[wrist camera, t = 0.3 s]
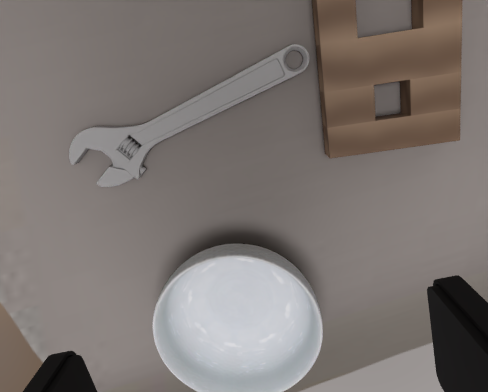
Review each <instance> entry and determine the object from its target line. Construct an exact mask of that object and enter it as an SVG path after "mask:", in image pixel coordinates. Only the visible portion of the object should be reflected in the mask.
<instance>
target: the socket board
mask: <svg viewBox="0 0 488 392" xmlns="http://www.w3.org/2000/svg"><path fill="white" fill-rule="evenodd" d="M411 3H412V30H406V31H400V32H393V33H387V34H381V35H374V36H368V37H362V38H358V37H357V20H356V2H355V0H312V8H313V19H314V31H315V42H316V54H317V65H318V77H319V88H320V100H321V111H322V123H323V134H324V146H325V154H326V155H327V156H328V157H329V158H336V157H344V156H351V155H358V154H365V153H372V152H379V151H386V150H394V149H401V148H408V147H415V146H422V145H429V144H436V143H444V142H451V141H458V140H460V103H461V45H462V0H411ZM397 81H400V98H401V113H398V114H391V115H384V116H377V117H375V98H374V85H377V84H383V83H390V82H397Z"/></svg>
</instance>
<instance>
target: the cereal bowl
mask: <svg viewBox="0 0 488 392" xmlns="http://www.w3.org/2000/svg"><path fill="white" fill-rule="evenodd" d="M153 336H154V341H155V344H156V347H157V350H158V352H159V354H160V357H161V358H162V360H163V362H164V363H165V365H166V366H167V367H168V368H169V370H170V371H171V372H172V373H173V374H174V375H175V376H176V377H177V378H178V379H179V380H181V381H182V382H183V383H184V384H186V385H187V386H189V387H190V388H192V389H194V390H196V391H198V392H283V391H285V390H287V389H289V388H290V387H292V386H293V385H295V384H296V383H297V382H298V381H300V380H301V379H302V378H303V377H304V376H305V375H306V374H307V373H308V371H309V370H310V369H311V367H312V366H313V364H314V362H315V361H316V359H317V357H318V354H319V352H320V349H321V344H322V339H323V324H322V317H321V312H320V309H319V304H318V301H317V298H316V296H315V293H314V291H313V290H312V287H311V286H310V284H309V283H308V281H307V279H306V278H305V277H304V276H303V274H302V273H301V272H300V271H299V269H297V267H295V266H294V265H293V264H292V263H291V262H289V261H288V260H287V259H285V258H284V257H282V256H281V255H279V254H277V253H276V252H273V251H271V250H268V249H267V248H262V247H259V246H255V245H249V244H237V243H236V244H225V245H220V246H215V247H212V248H209V249H206V250H204V251H201V252H199V253H197V254H196V255H194V256H192V257H191V258H189V259H188V260H186V261H185V262H184V263H183V264H182V265H180V266H179V267H178V269H177V270H176V271H175V272H174V273H173V274H172V275H171V276H170V278H169V280H168V281H167V282H166V284H165V286H164V288H163V289H162V292H161V293H160V295H159V298H158V300H157V302H156V306H155V309H154V315H153Z"/></svg>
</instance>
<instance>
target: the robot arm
mask: <svg viewBox="0 0 488 392" xmlns="http://www.w3.org/2000/svg"><path fill="white" fill-rule="evenodd" d="M427 294H428V303H429V312H430V321H431V330H432V339H433V347H434V356H435V364H436V373H437V377H438V380H439V382H440V385H441V387H442V389H443V390H444V392H488V303H487V302H486V301H485V300H484V299H483V298H482V297H481V296H480V295H479V294H478V293H477V292H476V291H475V290H474V289H473V288H472V287H471V286H470V285H469V284H468V283H467V282H466V281H465V280H463V279H462V278H461V277H460V276H457V275H456V276H451V277H446V278H441V279H436V280H434V283H433V286H431V287H428V289H427ZM23 392H97V390H96V388H95V386H94V383H93V381H92V379H91V376H90V374H89V372H88V369H87V367H86V365H85V363H84V360H83V358H82V357H81V356H80V355H76V353H75V352H73V351H67V352H62V353H57V354H52V355H50V356H49V357H48V358H47V359H46V360H45V362H44V363H43V364H42V366H41V367H40V368H39V370H38V372H37V373H36V374H35V376H34V377H33V378H32V380H31V381H30V382H29V384H28V385H27V387H26V388H25V389H24V391H23Z"/></svg>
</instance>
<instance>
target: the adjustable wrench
mask: <svg viewBox="0 0 488 392" xmlns="http://www.w3.org/2000/svg"><path fill="white" fill-rule="evenodd" d="M293 50H296V51H299V52H300V53H301V54H302V56H303V63H302V65H301V66H300V67H299V68H297V69H291V68H289V67H288V66H287V64H286V61H285V59H286V55H287V54H288V53H289V52H290V51H293ZM308 63H309V54H308V52H307V50H306V49H305V48H304V47H303V46H301V45H298V44H293V45H290V46H288V47H286V48H284V49H282V50H281V51H279V52H277V53H275V54H273V55H271V56H269V57H268V58H266V59H264V60H262V61H260V62H258V63H257V64H255V65H253V66H251V67H249V68H247V69H245V70H244V71H242V72H240V73H238V74H236V75H234V76H233V77H231V78H229V79H227V80H225V81H223V82H221V83H220V84H218V85H216V86H214V87H212V88H210V89H209V90H207V91H205V92H203V93H201V94H199V95H197V96H196V97H194V98H192V99H190V100H188V101H186V102H185V103H183V104H181V105H179V106H177V107H175V108H173V109H172V110H170V111H168V112H166V113H164V114H162V115H161V116H159V117H157V118H155V119H153V120H151V121H149V122H147V123H144V124H140V125H133V126H117V127H116V126H95V127H92V128H89V129H86V130H83V131H81V132H80V133H79V134H78V135H77V136H76V137H75V138H74V139H73V141H72V143H71V146H70V150H69V160H70V162H71V164H72V165H75V164H77V163H79V161H80V160H81V159H82V157H83V156H84V155H85V153H86V152H87V151H88V149H93V150H99V151H102V152H103V153H105V154H106V155H107V156H108V157H109V158H111V160H112V163H113V165H111V166H110V167H109V168H108V169H107V170H106V171H105V173H104V174H103V175H102V176H101V178H100V179H99V180H98V182H97V183H96V184H97V185H99V186H100V187H112V186H117V185H121V184H123V183H125V182H127V181H129V180H131V179H132V178H133V177H135V178H136V179H137V180H138V179H139V178H140V177H141V176H142V174H143V173H144V171H145V170H146V168H145V167H143V162H144V160H145V158H146V156H147V154H148V152H149V151H150V149H151V148H152V147H153V146H154V145H155V144H157V143H158V142H160V141H162V140H164V139H166V138H168V137H170V136H172V135H174V134H176V133H178V132H180V131H182V130H184V129H187V128H189V127H191V126H193V125H195V124H197V123H199V122H201V121H203V120H205V119H207V118H209V117H211V116H213V115H215V114H217V113H219V112H221V111H223V110H226V109H228V108H230V107H232V106H234V105H236V104H238V103H240V102H242V101H244V100H246V99H248V98H250V97H252V96H254V95H256V94H258V93H260V92H262V91H264V90H267V89H269V88H271V87H273V86H275V85H277V84H279V83H281V82H283V81H285V80H287V79H289V78H291V77H293V76H295V75H297V74H299V73H301V72H303V71H304V70H305V69H306V68H307V66H308ZM130 136H131V137H133V138H134V139H135V140H136V141H138V142H139V143H138V144H136V141H134V142H133V141H132V140H133V138H131V139H130V138H129V137H130ZM139 144H141V145H142V146H141V147H139ZM126 151H127V152H126ZM129 154H130V155H129ZM132 156H133V157H132Z"/></svg>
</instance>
